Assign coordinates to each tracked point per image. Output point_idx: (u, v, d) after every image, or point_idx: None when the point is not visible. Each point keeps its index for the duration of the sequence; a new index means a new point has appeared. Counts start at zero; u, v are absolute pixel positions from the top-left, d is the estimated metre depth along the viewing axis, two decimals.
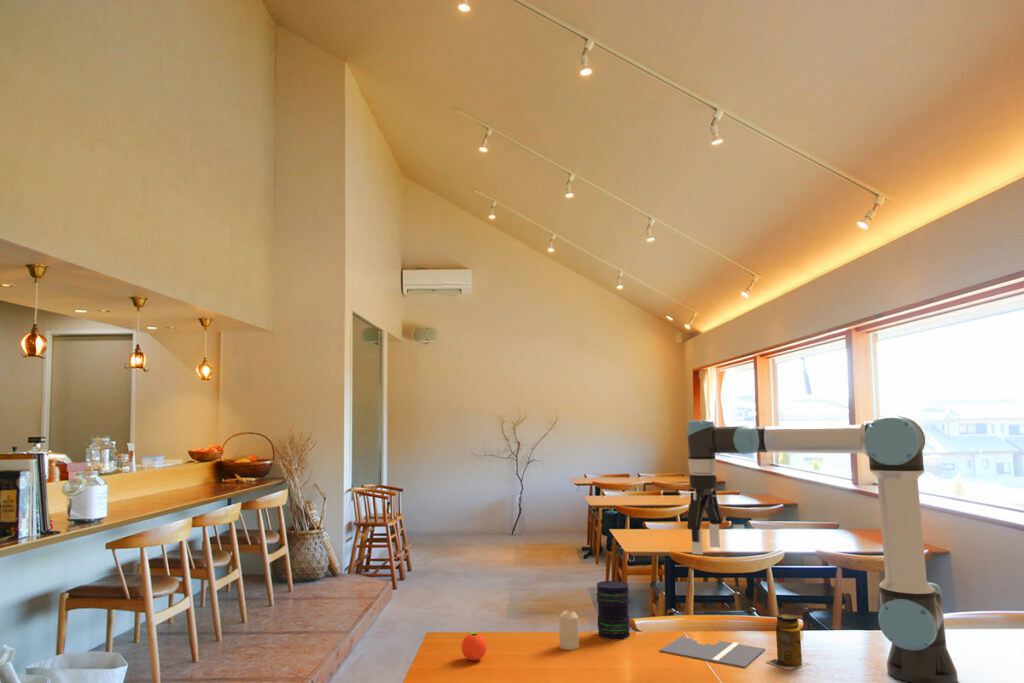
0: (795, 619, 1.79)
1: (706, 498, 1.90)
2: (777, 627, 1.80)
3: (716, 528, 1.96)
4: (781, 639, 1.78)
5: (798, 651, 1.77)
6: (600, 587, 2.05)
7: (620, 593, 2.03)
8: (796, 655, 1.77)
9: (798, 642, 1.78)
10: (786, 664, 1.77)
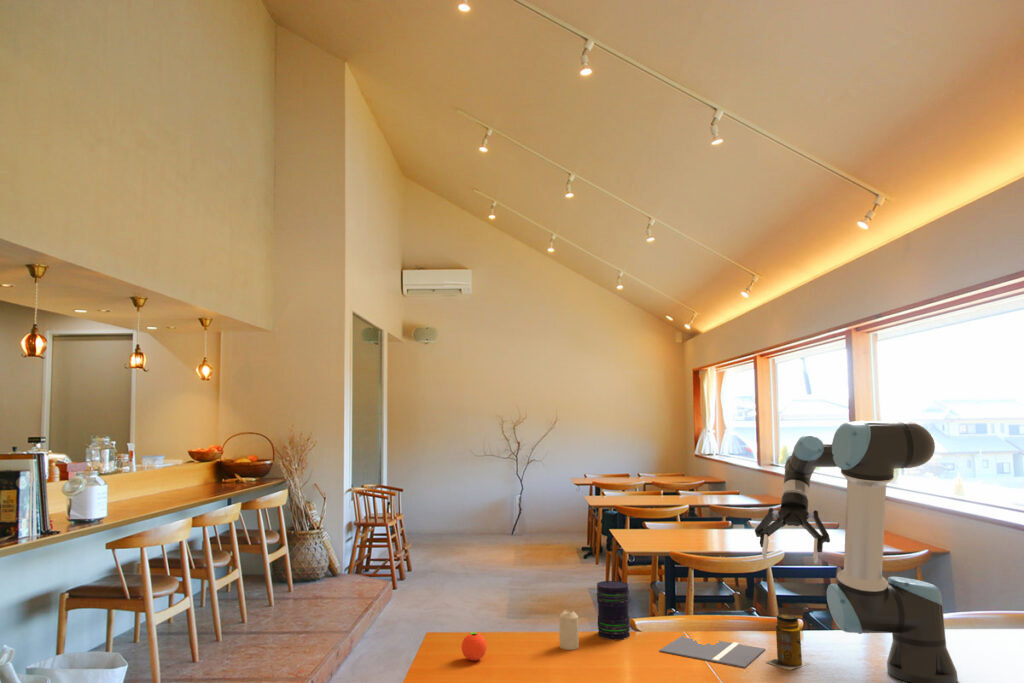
0: (795, 619, 1.79)
1: None
2: (777, 627, 1.80)
3: None
4: (781, 639, 1.78)
5: (798, 651, 1.77)
6: (600, 587, 2.05)
7: (620, 593, 2.03)
8: (796, 655, 1.77)
9: (798, 642, 1.78)
10: (786, 664, 1.77)
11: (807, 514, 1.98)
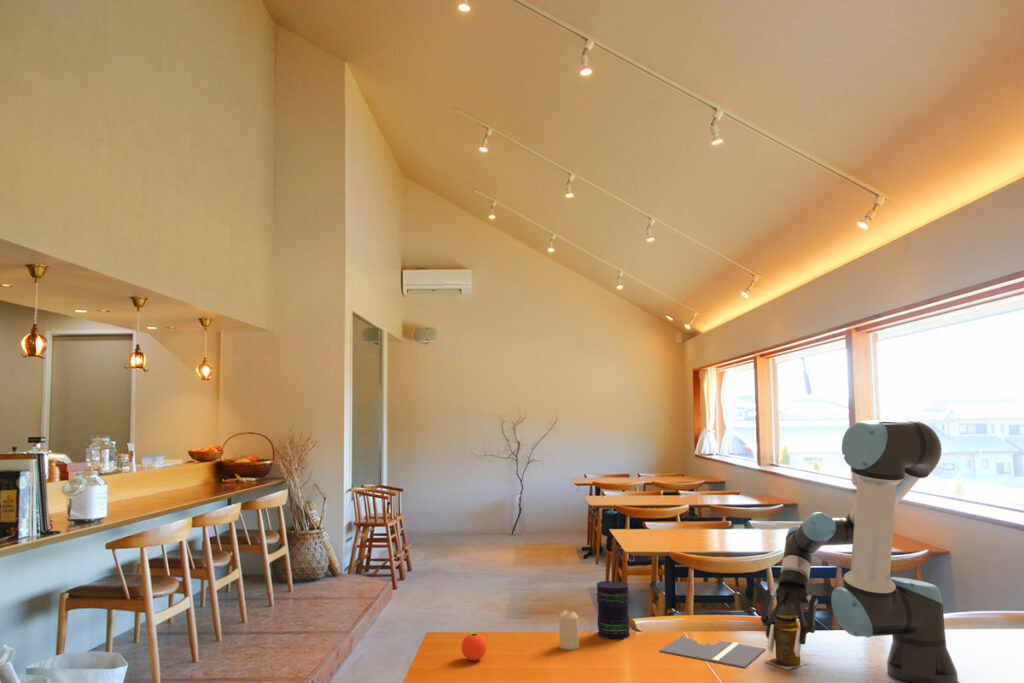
0: (793, 619, 1.79)
1: None
2: (776, 627, 1.80)
3: None
4: (779, 638, 1.79)
5: None
6: (600, 587, 2.05)
7: (620, 593, 2.03)
8: (795, 655, 1.77)
9: None
10: (785, 664, 1.77)
11: (805, 596, 1.85)
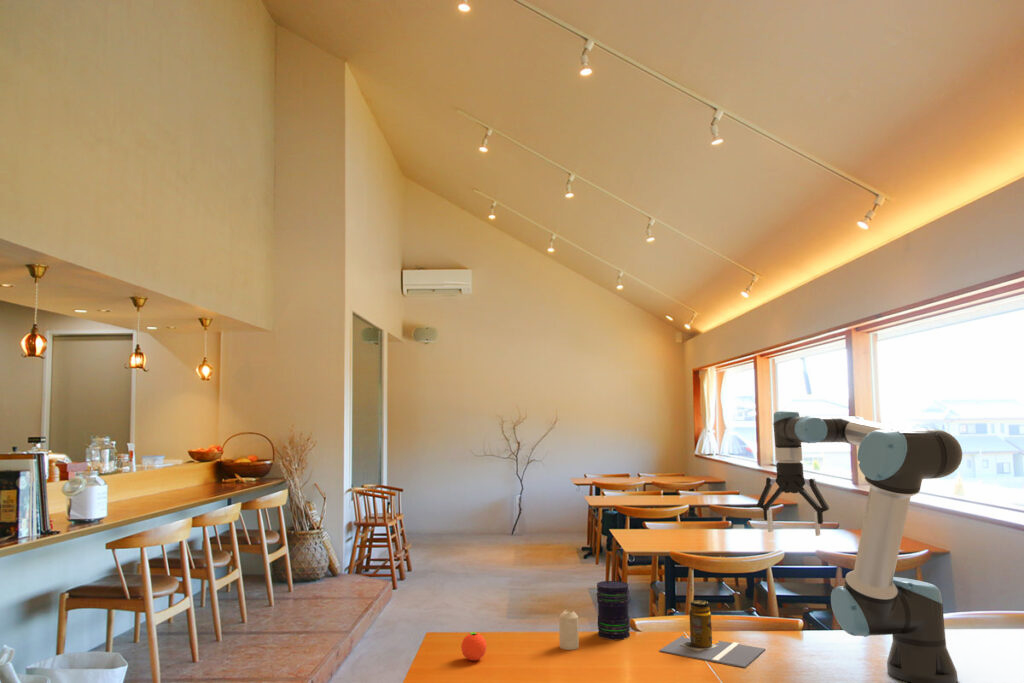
0: (706, 604, 1.93)
1: (781, 483, 2.05)
2: (690, 612, 1.95)
3: None
4: (693, 623, 1.93)
5: (708, 634, 1.91)
6: (600, 587, 2.05)
7: (620, 593, 2.03)
8: (706, 638, 1.91)
9: (708, 626, 1.92)
10: (697, 646, 1.91)
11: (803, 483, 2.02)
